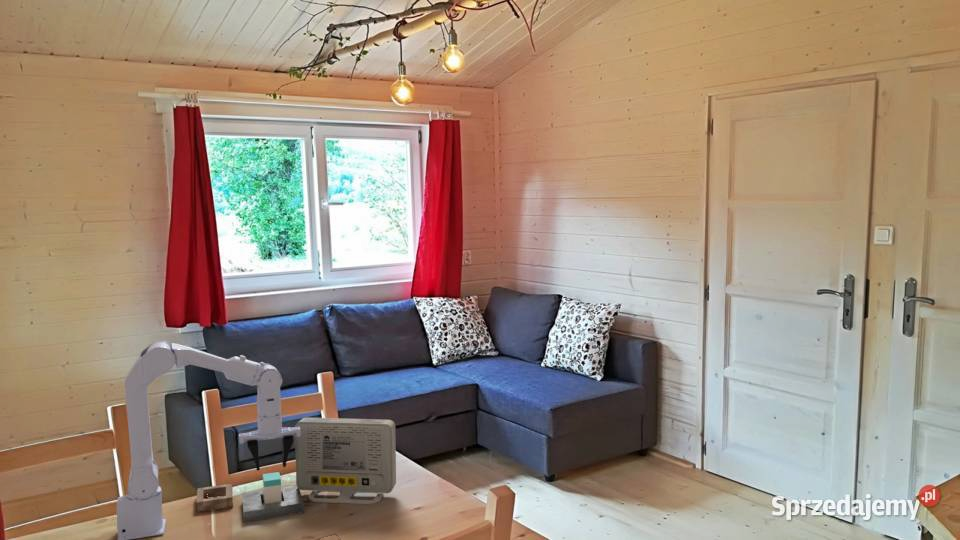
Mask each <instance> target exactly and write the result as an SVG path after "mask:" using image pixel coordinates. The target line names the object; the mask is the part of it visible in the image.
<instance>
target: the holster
mask: <svg viewBox="0 0 960 540" xmlns="http://www.w3.org/2000/svg"><path fill="white" fill-rule="evenodd" d="M196 489H197V492H196V513H200V511H202V512H207V510H208V511H214V509H215V510H221V509H220V508H222V509H226V508H233V507H234V503H233V501H234V499H233V484H232V483H227V484H218V485H213V486H206V487H198V488H196ZM207 494H208V495H207ZM207 496H208V497H214V498H208V497H207ZM217 496H221V497H217ZM204 498H208V499H204Z"/></svg>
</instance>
